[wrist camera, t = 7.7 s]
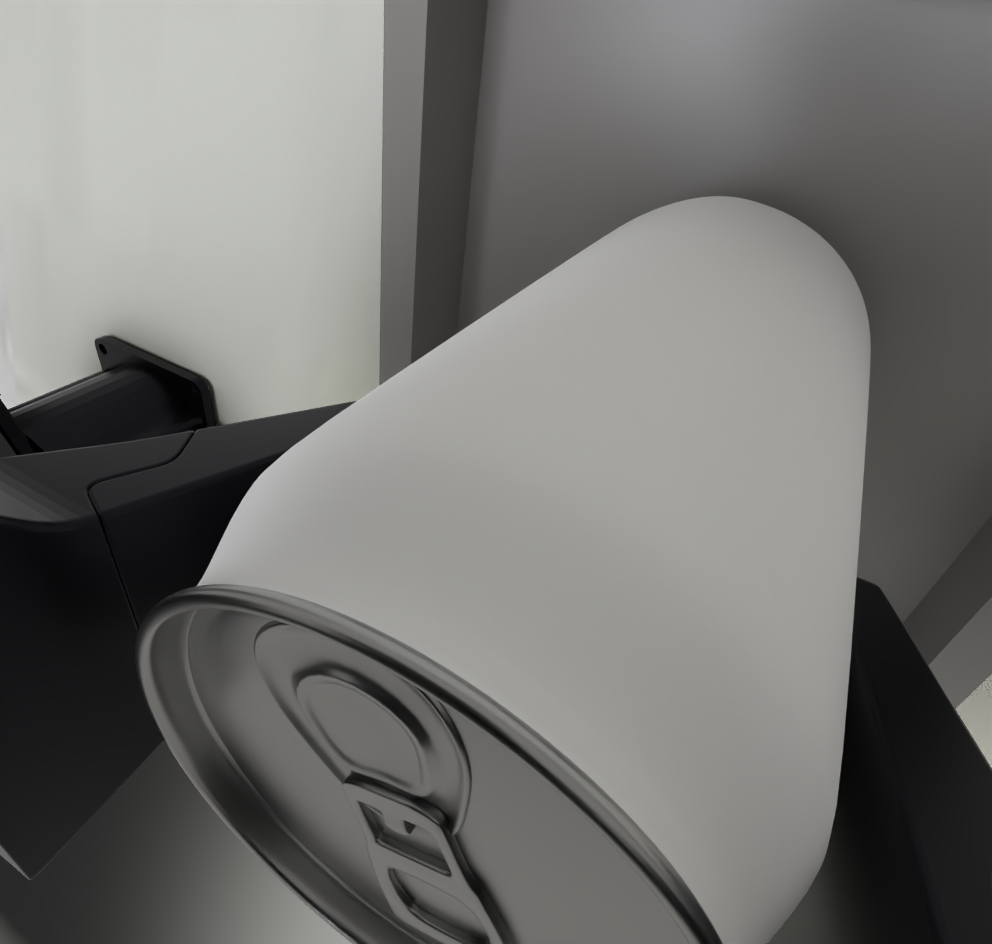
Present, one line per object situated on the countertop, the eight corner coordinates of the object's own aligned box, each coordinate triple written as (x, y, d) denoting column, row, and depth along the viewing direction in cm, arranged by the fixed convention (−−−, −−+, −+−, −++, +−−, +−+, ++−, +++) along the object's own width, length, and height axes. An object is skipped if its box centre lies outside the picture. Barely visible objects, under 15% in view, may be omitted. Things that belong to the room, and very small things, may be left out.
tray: (428, 459, 23) (378, 504, 20) (473, -161, 13) (386, -202, 11) (903, 669, 18) (904, 756, 16) (1560, -69, 8) (1810, -112, 6)
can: (882, 160, 11) (840, 650, 2) (864, 481, 14) (816, 1249, 5) (546, 218, 14) (-21, 503, 5) (589, 467, 17) (268, 916, 8)
